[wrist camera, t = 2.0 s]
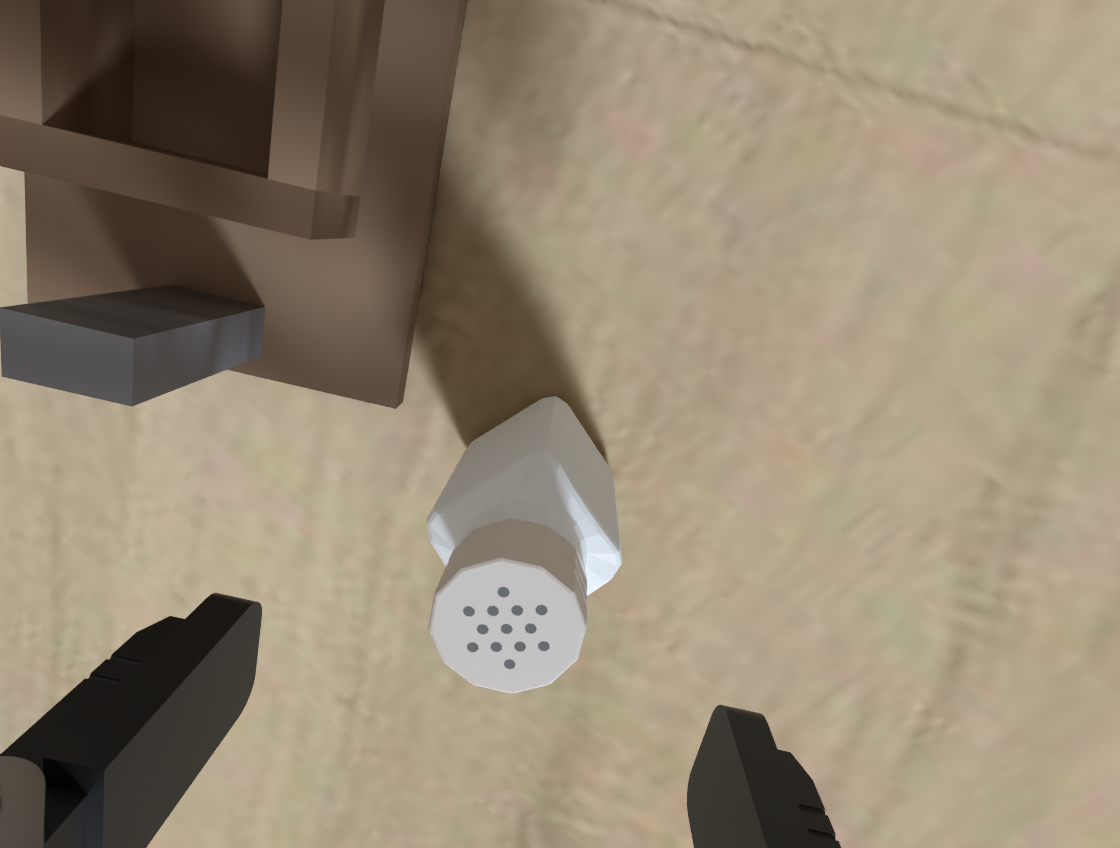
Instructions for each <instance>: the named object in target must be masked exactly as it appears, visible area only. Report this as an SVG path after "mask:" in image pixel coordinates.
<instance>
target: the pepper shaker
mask: <svg viewBox="0 0 1120 848" xmlns="http://www.w3.org/2000/svg"><path fill="white" fill-rule="evenodd" d="M427 526H428V533H429V539H430V542H431V543H432V545H433V546H434V548H435V550H436V551H437V553H438V555H439V556H440V558H441V560H442V561H443V563H444V564H445V566H446V568H445V570H444V573H443V575H442V577H441V580H440V582H439V584H438V587H437V589H436V591H435V595H434V600H433V606H432V612H431V617H430V623H429V630H430V632H431V634H432V637H433V639H434V641H435V644H436V646H437V648H438V650H439V653H440V655H441V657H442V660H443V662H444V663H445V664H447V665H448V666H449V667H451V668H452V669H453V670H454V671H456V672H457V673H458V674H460V675H461V676H462V677H464V678H465V679H466V680H468V681H469V682H470V683H471V684H473V685H474V686H479V687H484V688H489V689H493V690H498V691H503V692H508V693H517V692H521V691H525V690H529V689H533V688H537V687H542V686H546V685H550V684H551V683H552V682H553V681H554V680H555V679H556V678H558V677H559V676H560V675H561V674H562V673H563V672H564V671H565V670H566V669H568V668H569V667H570V666H571V665H572V664H573V663H574V662H575V661H577V660H578V656H579V653H580V649H581V645H582V641H583V638H584V634H585V630H586V626H587V605H586V604H587V595H589V594H590V593H592V592H593V591H595V590H596V589H598V588H599V587H601V586H602V585H604V584H605V583H607V582H608V581H610V580H611V579H612V577H613V576H614V574H615V573H616V571H617V570H618V568H619V567H620V565H621V564H622V552H621V542H620V532H619V522H618V512H617V501H616V491H615V483H614V477H613V472H612V471H611V469H610V468H609V466H608V464H607V463H606V461H605V460H604V458H603V457H602V455H601V454H600V452H599V451H598V449H597V448H596V446H595V445H594V443H593V442H592V440H591V439H590V437H589V436H588V434H587V433H586V431H585V430H584V428H583V427H582V425H581V424H580V422H579V420H578V419H577V417H576V416H575V414H574V413H573V411H572V410H571V408H570V407H569V405H568V404H567V403H565V402H564V401H563V400H561V399H560V398H558V397H557V396H553V397H547V398H542V399H540V400H538V401H537V402H535V403H533V404H532V405H530V406H529V407H527V408H525V409H524V410H522V411H520V412H519V413H517V414H516V415H514V416H512V417H511V418H509V419H508V420H506V421H504V422H503V423H501V424H499V425H498V426H496V427H495V428H493V429H491V430H490V431H488V432H486V433H485V434H483V435H482V436H480V437H478V438H477V439H475V440H474V441H472V442H471V443H470V445H469V446H468V448H467V449H466V451H465V452H464V454H463V456H462V457H461V459H460V461H459V463H458V465H457V466H456V468H455V470H454V472H453V473H452V475H451V477H450V479H449V481H448V482H447V484H446V486H445V488H444V490H443V491H442V493H441V495H440V497H439V499H438V500H437V502H436V504H435V506H434V508H433V509H432V511H431V513H430V515H429V516H428V518H427Z"/></svg>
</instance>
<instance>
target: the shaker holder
mask: <svg viewBox="0 0 1120 848" xmlns="http://www.w3.org/2000/svg"><path fill="white" fill-rule="evenodd" d="M466 4H467V0H0V166H3V167H7V168H11V169H15V170H19V171H24V172H25V210H26V250H27V291H28V304H23V305H15V306H8V307H0V339H1V365H2V377H6V378H11V379H15V380H19V381H24V382H28V383H32V384H37V385H41V386H45V387H50V388H54V389H59V390H63V391H67V392H72V393H76V394H80V395H85V396H89V397H93V398H98V399H102V400H106V401H111V402H115V403H120V404H124V405H128V406H134V405H137V404H139V403H142V402H145V401H147V400H150V399H152V398H155V397H157V396H160V395H163V394H165V393H168V392H170V391H173V390H175V389H178V388H181V387H183V386H186V385H188V384H191V383H193V382H196V381H199V380H201V379H204V378H206V377H209V376H211V375H214V374H217V373H219V372H222V371H224V370H231V371H235V372H240V373H244V374H248V375H253V376H257V377H261V378H266V379H270V380H274V381H279V382H283V383H287V384H292V385H296V386H300V387H304V388H309V389H313V390H317V391H322V392H326V393H330V394H335V395H339V396H343V397H348V398H352V399H356V400H360V401H365V402H369V403H373V404H378V405H382V406H386V407H391V408H395V409H396V408H397V407H398V406H399V405H400V404H401V403H402V402H403V397H404V391H405V385H406V378H407V372H408V366H409V360H410V354H411V347H412V341H413V335H414V329H415V322H416V316H417V310H418V304H419V297H420V291H421V285H422V279H423V272H424V266H425V260H426V254H427V247H428V241H429V235H430V229H431V222H432V216H433V210H434V204H435V197H436V191H437V185H438V179H439V172H440V166H441V160H442V154H443V147H444V141H445V135H446V129H447V123H448V116H449V110H450V104H451V98H452V91H453V85H454V79H455V73H456V66H457V60H458V54H459V48H460V41H461V35H462V29H463V23H464V16H465V10H466Z"/></svg>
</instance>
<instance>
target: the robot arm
mask: <svg viewBox="0 0 1120 848" xmlns="http://www.w3.org/2000/svg"><path fill="white" fill-rule="evenodd" d="M261 618H262V607H261V604H260V603H259V602H255V601H251V600H246V599H242V598H237V597H233V596H228V595H223V594H219V593H213V594H211V595H210V596H209V597H207V598H206V599H205V600H204V601H203V602H202V603H201V604H200V605H199V606H198V607H197V608H196V609H195V610H194V611H193V612H192V613H191V614H190V615H189V616H188V617H187V618H186V619H182V618H177V617H172V616H169V617H167V618H165V619H163V620H161V621H159V622H157V623H155V624H153V625H151V626H149V627H147V628H145V629H142V630H140V631H138V632H136V633H135V634H134V635H133V636H132V637H131V638H130V639H129V640H128V641H126V642H125V643H124V644H123V645H122V646H121V647H120V648H119V649H117V650H116V651H115V652H114V653H113V654H112V656H111V658H110V659H109V660H108V659H106V660H105V661H104V662H103V663H102V664H101V665H100V666H98V667H97V668H96V669H95V670H94V671H93V672H92V673H91V674H90V677H89V678H88V679H84V680H83V681H82V682H81V683H80V684H78V685H77V686H76V687H75V688H74V689H73V690H72V691H71V692H69V693H68V694H67V695H66V696H65V697H64V698H63V699H62V700H61V701H59V702H58V703H57V704H56V705H55V706H54V707H53V708H52V709H51V710H49V711H48V712H47V713H46V714H45V715H44V716H43V717H42V718H40V719H39V720H38V721H37V722H36V723H35V724H34V725H33V726H32V727H30V728H29V729H28V730H27V731H26V732H25V733H24V734H23V735H22V736H20V737H19V738H18V739H17V740H16V741H15V742H14V743H13V744H11V745H10V746H9V747H8V748H7V749H6V750H5V751H4V752H3V753H1V754H0V848H146V847H147V846H148V844H149V843H150V841H151V840H152V839H153V837H154V836H155V834H156V833H157V832H158V830H159V829H160V827H161V826H162V824H163V823H164V822H165V820H166V819H167V817H168V816H169V815H170V813H171V812H172V810H173V809H174V808H175V806H176V805H177V803H178V802H179V801H180V799H181V798H182V796H183V795H184V793H185V792H186V791H187V789H188V788H189V786H190V785H191V784H192V782H193V781H194V779H195V778H196V777H197V775H198V774H199V772H200V771H201V770H202V768H203V767H204V765H205V764H206V762H207V761H208V760H209V758H210V757H211V755H212V754H213V753H214V751H215V750H216V748H217V747H218V746H219V744H220V743H221V741H222V740H223V739H224V737H225V736H226V734H227V733H228V731H229V730H230V729H231V727H232V726H233V724H234V723H235V722H236V720H237V719H238V717H239V716H240V714H241V713H242V711H243V709H244V707H245V705H246V703H247V701H248V699H249V696H250V693H251V690H252V687H253V684H254V680H255V673H256V664H257V655H258V646H259V636H260V627H261ZM687 810H688V817H689V822H690V828H691V833H692V839H693V844H694V848H841V846H840V844H839V841H836V840H835V835H836V834H835V832H834V829H833V827H832V825H831V822H830V820H829V818H828V816H827V815H825V808H824V806H823V803H822V801H821V799H820V796H819V794H818V791H817V789H816V787H815V784H814V782H813V780H812V779H811V777H810V776H809V775H808V774H807V772H806V771H805V770H804V769H803V767H802V766H801V765H800V764H799V762H798V761H797V760H796V759H795V757H794V756H793V755H792V754H791V753H790V752H786V751H782V750H777V747H776V744H775V742H774V739H773V736H772V734H771V731H770V728H769V726H768V723H767V721H766V719H765V717H764V716H763V715H762V714H760V713H755V712H751V711H746V710H742V709H737V708H733V707H728V706H723V705H718V706H717V707H716V708H715V709H714V711H713V713H712V716H711V719H710V721H709V724H708V727H707V729H706V732H705V735H704V737H703V740H702V743H701V746H700V748H699V751H698V754H697V756H696V759H695V762H694V765H693V767H692V770H691V773H690V777H689V782H688V791H687Z"/></svg>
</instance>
